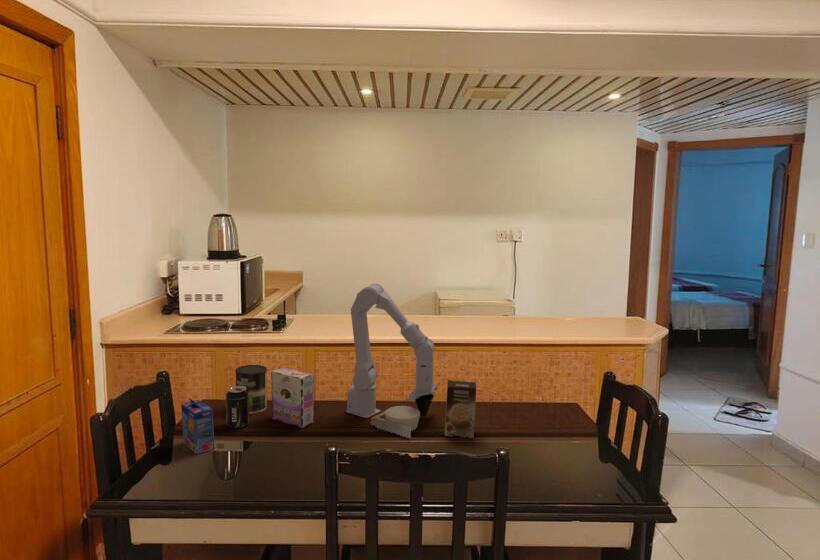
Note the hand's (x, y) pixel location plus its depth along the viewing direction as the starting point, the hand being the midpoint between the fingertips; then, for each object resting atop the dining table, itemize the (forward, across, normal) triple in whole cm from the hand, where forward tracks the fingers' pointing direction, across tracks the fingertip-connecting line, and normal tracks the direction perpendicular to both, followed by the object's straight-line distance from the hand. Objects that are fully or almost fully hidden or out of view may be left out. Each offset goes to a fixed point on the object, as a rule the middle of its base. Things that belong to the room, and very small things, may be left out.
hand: (423, 415), depth 177 cm
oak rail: (+1, -9, +9) cm, 13 cm away
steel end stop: (+1, -16, +1) cm, 16 cm away
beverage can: (+1, -41, +43) cm, 60 cm away
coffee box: (+1, -3, -16) cm, 16 cm away
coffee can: (+1, -29, +51) cm, 59 cm away
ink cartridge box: (+1, -57, +40) cm, 70 cm away
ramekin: (+1, -10, +1) cm, 10 cm away
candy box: (+1, -28, +32) cm, 43 cm away
